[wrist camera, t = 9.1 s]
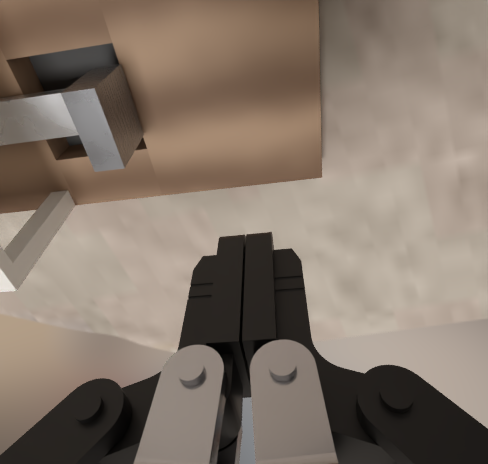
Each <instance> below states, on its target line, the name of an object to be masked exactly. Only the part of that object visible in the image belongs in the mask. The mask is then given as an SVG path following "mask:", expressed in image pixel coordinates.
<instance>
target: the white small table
mask: <svg viewBox="0 0 488 464" xmlns="http://www.w3.org/2000/svg"><path fill="white" fill-rule="evenodd" d="M74 207H75V203H74V201H73V199H72V197H71V195H70V193H69V191H68V190H67V191H58V192H51V193H50V195H49V196H48V197H47V198H46V199H45V201H44V202H43V203H42V204H41V206H40V207H39V208H38V209H37V210H36V212H35V213H34V214H33V215H32V217H31V218H30V219H29V220H28V221H27V223H26V224H25V225H24V226H23V228H22V229H21V230H20V231H19V232H18V234H17V235H16V236H15V237H14V239H13V240H12V241H11V242H10V244H9V245H8V246H7V247H6V248H5V250H3V249H2V247H1V246H0V292H8V291H17V290H18V288H19V287H20V285H21V284H22V283H23V281H24V280H25V278H26V277H27V275H28V274H29V272H30V271H31V269H32V268H33V266H34V265H35V264H36V262H37V261H38V259H39V258H40V256H41V255H42V253H43V252H44V250H45V249H46V247H47V246H48V245H49V243H50V242H51V240H52V239H53V237H54V236H55V234H56V233H57V231H58V230H59V228H60V227H61V226H62V224H63V223H64V221H65V220H66V218H67V217H68V215H69V214H70V212H71V211H72V209H73V208H74Z"/></svg>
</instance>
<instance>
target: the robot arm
mask: <svg viewBox="0 0 488 464" xmlns="http://www.w3.org/2000/svg"><path fill="white" fill-rule="evenodd" d="M188 297H189V299H188V301H187V306H186V311H185V316H184V322H183V327H182V332H181V337H180V342H179V347H178V350H177V352H176V353H174V354H173V355H172V356H171V357H170V358H169V359H168V360H167V362H166V363H165V365H164V366H163V369H162V371H161V372H159V373H158V374H156V375H154V376H152V377H150V378H148V379H145V380H142V381H140V382H137V383H134V384H132V385H129V386H126V387H124V388H121V387H120V386H119V385H118V384H117V383H116V382H114V381H112V380H110V379H95V380H92V381H88V382H86V383H84V384H82V385H81V386H79V387H78V388H76V389H75V390H74V391H73V392H72V393H70V394H69V395H68V396H67V397H66V398H65V399H64V400H62V401H61V402H60V403H59V404H58V405H57V406H56V407H55V408H54V409H52V410H51V411H50V412H49V413H48V414H47V415H46V416H44V417H43V418H42V419H41V420H40V421H39V422H38V423H36V424H35V425H34V426H33V427H32V428H31V429H30V430H29V431H27V432H26V433H25V434H24V435H23V436H22V437H21V438H19V439H18V440H17V441H16V442H15V443H14V444H13V445H12V446H10V447H9V448H8V449H7V450H6V451H5V452H4V453H2V454H1V455H0V464H239V460H240V450H241V440H242V422H241V421H242V401H243V399H242V398H245V397H252V412H253V428H254V444H255V460H256V464H488V429H487V428H486V427H485V426H483V425H482V424H481V423H479V422H478V421H477V420H475V419H474V418H473V417H472V416H470V415H469V414H468V413H466V412H465V411H464V410H462V409H461V408H460V407H459V406H457V405H456V404H455V403H453V402H452V401H451V400H449V399H448V398H447V397H445V396H444V395H443V394H442V393H440V392H439V391H438V390H436V389H435V388H434V387H433V386H431V385H430V384H429V383H427V382H426V381H425V380H423V379H422V378H421V377H419V376H418V375H417V374H415V373H414V372H412V371H410V370H408V369H406V368H403V367H400V366H395V365H381V366H377V367H374V368H372V369H370V370H369V371H367V372H366V373H365V374H364V373H360V372H356V371H352V370H348V369H344V368H341V367H337V366H335V365H333V364H331V363H330V362H328V361H327V360H325V359H324V358H323V357H322V356H321V355H320V354H319V353H318V352H317V350H316V349H315V347H314V345H313V342H312V338H311V332H310V325H309V317H308V310H307V302H306V294H305V287H304V279H303V272H302V264H301V260H300V259H299V257H298V256H297V255H296V253H295V252H294V251H293V249H280V250H274V245H273V237H272V232H268V233H257V234H247V235H246V236H245V235H237V236H226V237H220V238H219V242H218V250H217V255H213V256H203V257H202V259H201V260H200V261H199V263H198V264H197V266H196V267H195V268H194V270H193V275H192V280H191V287H190V290H189V296H188Z"/></svg>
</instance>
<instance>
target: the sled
mask: <svg viewBox="0 0 488 464" xmlns="http://www.w3.org/2000/svg"><path fill="white" fill-rule="evenodd" d="M75 135H79V137H80V139H81V141H82V144H83V146H84V148H85V150H86V153H87V155H88V157H89V160H90V162H91V164H92V166H93V169H94V171H95V172H99V171H107V170H115V169H123V168H125V167H126V165H127V164H128V162H129V160H130V158H131V157H132V155H133V153H134V152H135V150H136V148H137V146H138V145H139V143H140V141H141V139H142V138H143V136H144V133H143V130H142V127H141V124H140V121H139V117H138V114H137V111H136V108H135V105H134V102H133V99H132V96H131V93H130V90H129V87H128V83H127V80H126V77H125V74H124V71H123V68H122V65H121V64H117V65H111V66H104V67H98V68H92V69H91V70H90V71H88V72H87V73H86V74H85V75H83V76H82V77H81V78H79V79H78V80H77V81H76V82H74V83H73V84H72V85H70V86H69V87H68V88H65V89H59V90H52V91H45V92H38V93H32V94H25V95H18V96H12V97H5V98H0V146H1V145H8V144H16V143H23V142H31V141H38V140H46V139H53V138H61V137H68V136H75Z"/></svg>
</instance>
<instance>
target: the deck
mask: <svg viewBox="0 0 488 464" xmlns="http://www.w3.org/2000/svg"><path fill="white" fill-rule="evenodd" d="M117 64H121V65H122V68H123V71H124V74H125V77H126V80H127V83H128V87H129V90H130V93H131V96H132V99H133V102H134V105H135V108H136V111H137V114H138V117H139V121H140V124H141V127H142V130H143V133H144V136H143V138H142V139H141V141H140V143H139V145H138V146H137V148H136V150H135V152H134V153H133V155H132V157H131V158H130V160H129V162H128V164H127V165H126V167H125V168H123V169H115V170H107V171H99V172H95V171H94V169H93V166H92V164H91V162H90V160H89V157H88V155H87V153H86V150H85V148H84V146H83V144H82V141H81V139H80V137H79V135H75V136H68V137H61V138H53V139H46V140H38V141H31V142H23V143H16V144H8V145H1V146H0V214H2V213H11V212H19V211H28V210H37V209H38V208H39V207H40V206H41V204H42V203H43V202H44V201H45V199H46V198H47V197H48V196H49V195H50V193H51V192H58V191H67V190H68V191H69V193H70V195H71V197H72V199H73V201H74V203H75V205H82V204H90V203H99V202H108V201H117V200H126V199H135V198H144V197H153V196H161V195H170V194H179V193H188V192H197V191H206V190H215V189H224V188H232V187H241V186H250V185H259V184H268V183H277V182H286V181H295V180H304V179H312V178H321V177H322V149H321V100H320V51H319V2H318V0H0V98H5V97H12V96H18V95H25V94H32V93H38V92H45V91H52V90H59V89H65V88H68V87H69V86H70V85H72V84H73V83H74V82H76V81H77V80H78V79H79V78H81V77H82V76H83V75H85V74H86V73H87V72H88V71H90V70H91V69H92V68H98V67H104V66H111V65H117Z"/></svg>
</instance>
